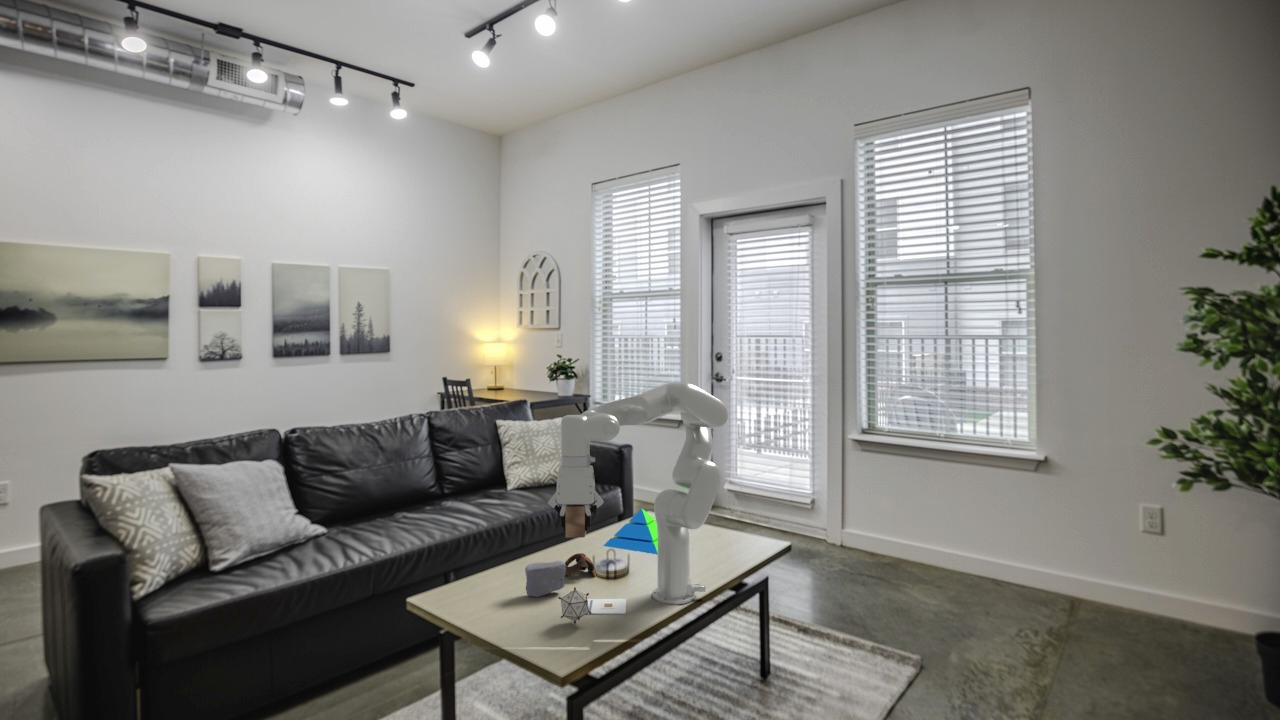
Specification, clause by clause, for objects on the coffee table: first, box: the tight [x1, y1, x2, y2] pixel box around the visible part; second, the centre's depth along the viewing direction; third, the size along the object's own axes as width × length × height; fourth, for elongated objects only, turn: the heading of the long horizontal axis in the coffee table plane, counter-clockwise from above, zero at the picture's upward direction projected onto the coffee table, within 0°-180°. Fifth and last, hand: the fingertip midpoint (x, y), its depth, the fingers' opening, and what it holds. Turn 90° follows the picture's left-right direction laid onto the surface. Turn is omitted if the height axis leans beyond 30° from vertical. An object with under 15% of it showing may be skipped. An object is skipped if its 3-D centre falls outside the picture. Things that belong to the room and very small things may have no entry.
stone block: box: [524, 560, 566, 598], centre depth 186 cm, size 12×5×10 cm, turn 105°
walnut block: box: [565, 505, 587, 539], centre depth 166 cm, size 5×5×8 cm
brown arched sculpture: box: [564, 552, 597, 578], centre depth 203 cm, size 12×9×8 cm
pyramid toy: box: [602, 508, 658, 556], centre depth 237 cm, size 25×25×14 cm
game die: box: [557, 586, 593, 624], centre depth 166 cm, size 9×8×10 cm
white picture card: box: [586, 598, 627, 615], centre depth 178 cm, size 12×10×1 cm
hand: (576, 529), depth 167 cm, fingers closed on walnut block, 5 cm apart
